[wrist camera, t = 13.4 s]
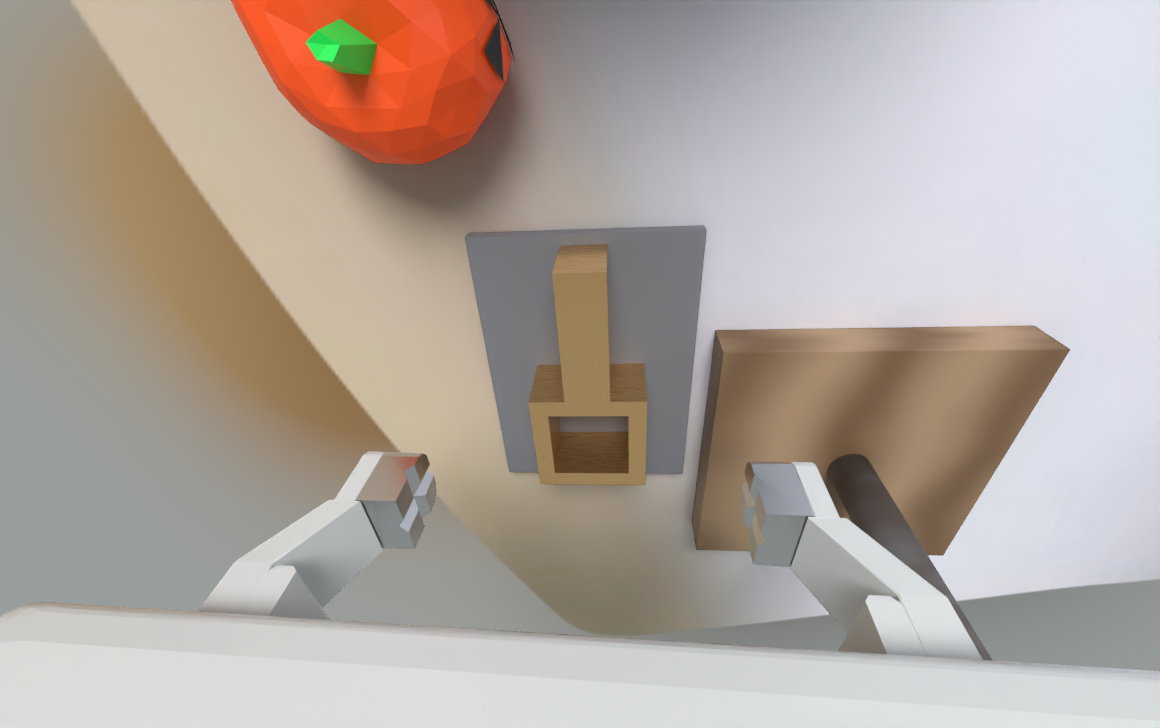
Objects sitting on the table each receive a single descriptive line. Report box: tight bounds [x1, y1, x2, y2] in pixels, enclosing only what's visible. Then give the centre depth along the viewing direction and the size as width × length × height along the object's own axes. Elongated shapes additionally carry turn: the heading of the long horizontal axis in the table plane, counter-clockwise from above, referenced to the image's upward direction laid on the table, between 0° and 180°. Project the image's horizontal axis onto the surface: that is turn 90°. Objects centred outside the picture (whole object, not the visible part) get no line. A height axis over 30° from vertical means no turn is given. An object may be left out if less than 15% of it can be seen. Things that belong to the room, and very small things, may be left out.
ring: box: [528, 244, 647, 485], centre depth 21 cm, size 5×11×3 cm, turn 3°
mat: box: [465, 226, 706, 474], centre depth 23 cm, size 10×14×1 cm
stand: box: [692, 326, 1070, 661], centre depth 20 cm, size 14×14×14 cm
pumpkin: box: [231, 0, 514, 164], centre depth 14 cm, size 7×8×6 cm
